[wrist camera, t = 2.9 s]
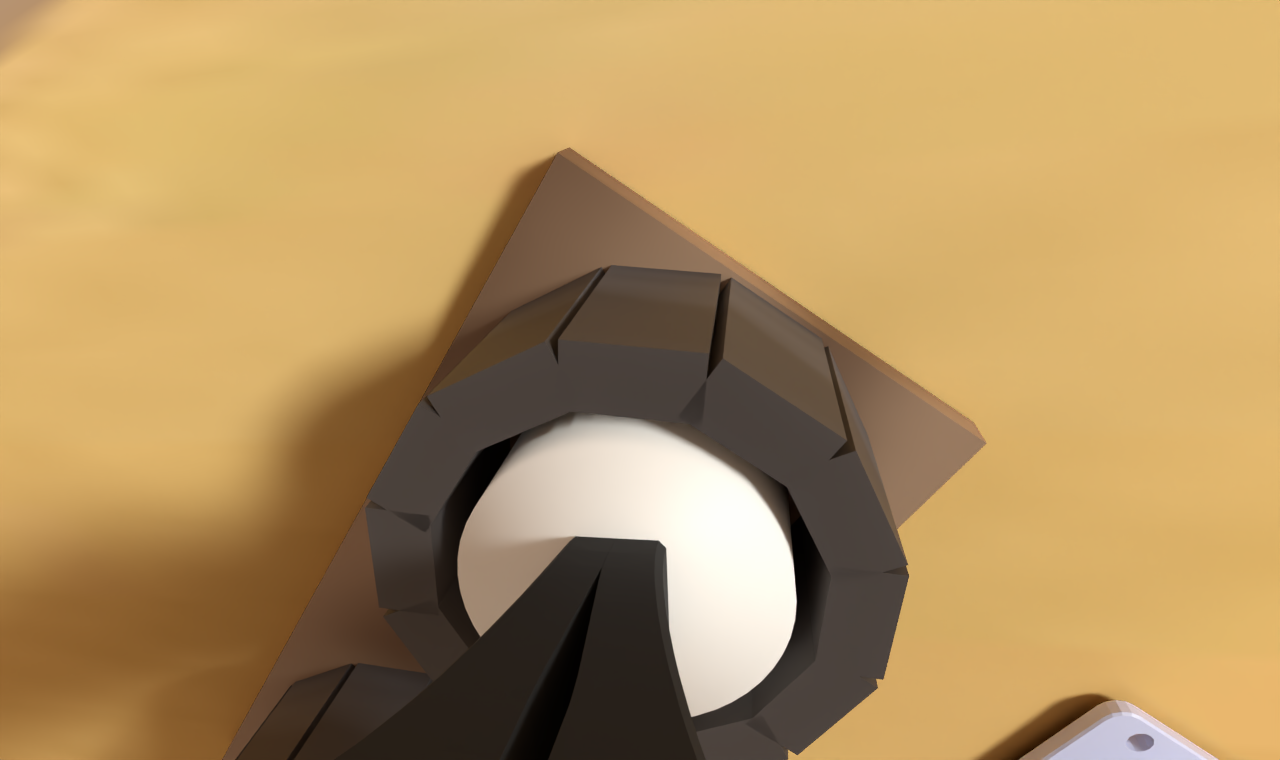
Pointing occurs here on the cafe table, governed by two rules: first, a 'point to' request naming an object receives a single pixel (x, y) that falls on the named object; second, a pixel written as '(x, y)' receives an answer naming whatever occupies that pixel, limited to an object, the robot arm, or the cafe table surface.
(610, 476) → the peg cream
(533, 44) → the cafe table surface
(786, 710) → the collar board
